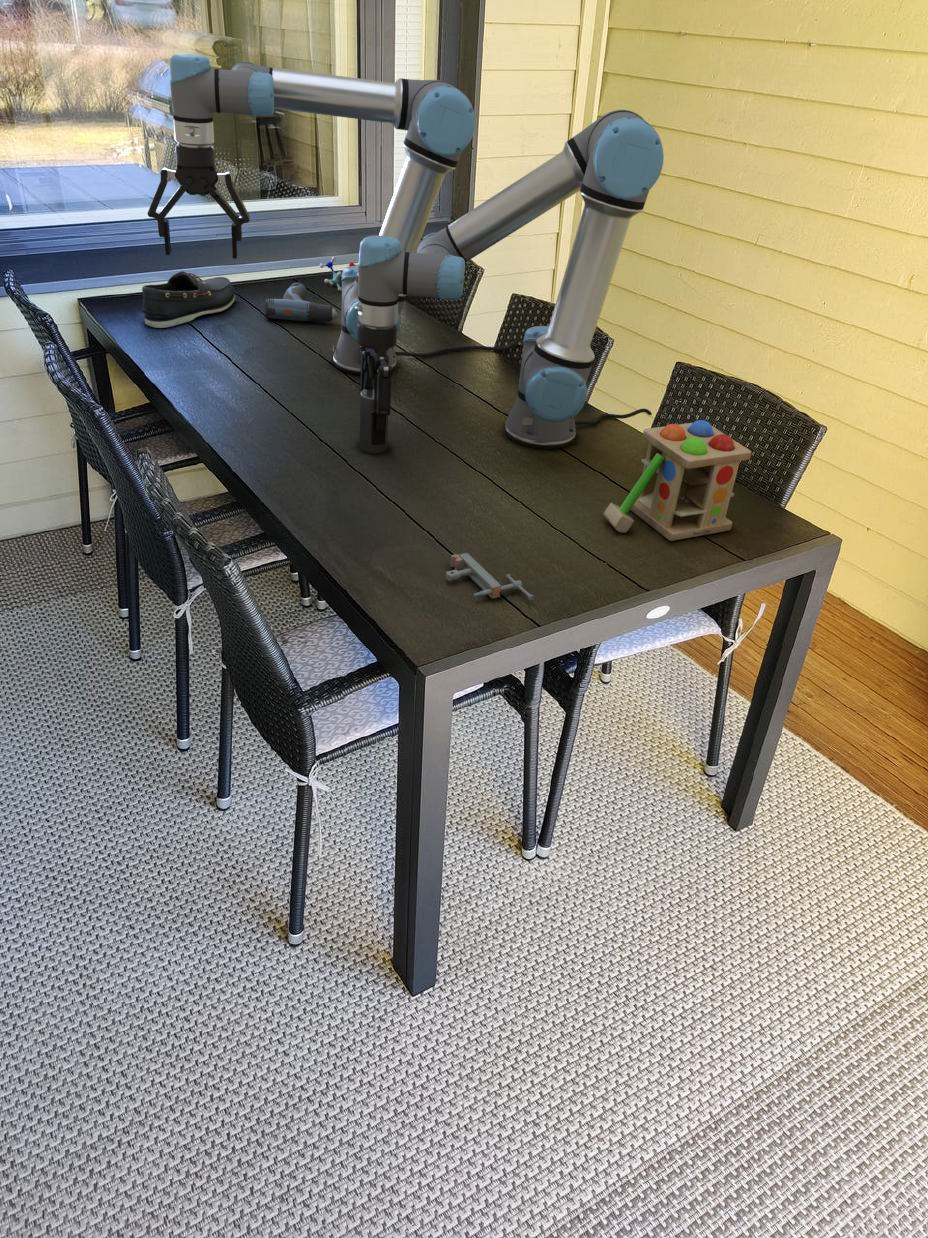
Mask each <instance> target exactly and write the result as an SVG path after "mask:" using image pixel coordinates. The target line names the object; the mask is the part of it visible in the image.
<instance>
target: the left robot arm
mask: <svg viewBox="0 0 928 1238" xmlns="http://www.w3.org/2000/svg"><path fill="white" fill-rule="evenodd" d="M210 61H211V60H210V58H209V57H208V56H206V55H201V54H195V53H194V54H193V53H176V54H173V55H172V56H171V57H170V58H169V78H170V79H169V85H170V97H171V106H172V118H173V131H174V132H173V133H174V135H173V136H174V141H175V142H176V145H175V147H174V149H175V159H176V160H175V161H176V169H175V170H173V169H169V168H168V167H166V166H165V167H163V168H162V169H161V170H160V182H159V184H158V186H157V189H156V191H155V194H154V196H153V199H152V201H151V203H150V206H149V208H148V211H147V217H148V218H153V219H155V220H156V221H157V229H158V236H159V238H163V239H164V250H165V256H170V255H171V253H172V246H171V245H172V244H171V233H170V231H171V230H170V220H169V218H166V217H167V215H168V214H169V213H170V211H171V210H172V209H173V208H174V206H175V205H176V204H177V203H178V201H179V200H180V199H181V198H182V196H183V195H184V194H185V193H187V194H188V195H189V196H196V195H199V196H201V197H205V196H207V195H209V196H210V197H211V198H212V199H213V200H214V201H215V202H216V203H217V204H218V206H219V207H220V208H221V209H222V211H224V213H225V214H226V215H227V216H228V218H229V219H230V220H231V221H232V223H231V225H230V229H231V247H232V248H231V249H232V250H231V252H232V259H237V258H238V242H242V239H243V233H242V232H243V231H242V230H243V229H242V225H245V224H248V223H249V222H250V220H251V216H250V214H249V212H248V210H247V208H246V206H245V203H244V201H243V199H242V198H241V196H240V194H239V192H238V190H237V188H236V186H235V184H234V178H233V174H232V172H231V171H226V172H221V173H218V171H217V168H216V151H215V147H214V145H213V144H214V143H215V133H214V131H215V130H214V117H213V113H217V114H221V113H222V114H232V115H233V114H234V115H235V114H236V115H246V116H254V117H260V116H261V117H262V116H263V117H270V116H273V115H274V112H275V110H283V111H292V112H298V113H299V112H300V113H308V114H314V115H315V114H316V115H324V116H331V117H337V118H338V117H339V118H347V119H354V120H356V119H357V120H363V121H370V122H377V123H378V122H379V123H387V124H391V125H392V127H394V128H395V130H401V131H406V135H405V138H404V140H403V144H402V146H403V148H404V152H405V155H406V157H405V161H404V163H403V166H402V169H401V172H400V174H399V177H398V180H397V183H396V185H395V188H394V191H393V194H392V197H391V200H390V203H389V206H388V208H387V211H386V214H385V216H384V219H383V223H382V226H381V228H380V231H379V234H378V235H380V236H387V237H393V238H396V239H397V240H399V241H400V244H401V248H402V249H401V251H405V252H411V253H416V251H417V247H418V245H419V244H420V242H421V240H422V237H423V235H424V232H425V229H426V226H427V224H428V221H429V218H430V216H431V214H432V210H433V208H434V205H435V202H436V200H437V197H438V195H439V192H440V189H441V187H442V184H443V181H444V179H445V176H446V174H447V173H449V172H452V171H454V170H456V168H457V165H458V163H459V160H460V158H461V156H462V155H461V154H462V152H463V151H464V150H465V149H466V147H468V145H469V144H470V143H471V140H472V139H473V136H474V134H475V129H476V115H475V111H474V107H473V105H472V103H471V101H470V99H469V98H468V96H467V95H466V94H465V93H464V92H463V91H461V90H460V89H458V88H457V87H456V86H455V85H453V84H451V83H450V82H448V81H445V80H442V79H412V78H411V79H409V78H402V77H401V78H400V77H399V78H398V79H396V81H394V82H389V81H382V80H373V79H365V78H360V77H359V78H358V77H351V76H343V75H335V74H328V73H319V72H312V71H304V70H298V69H288V68H282V67H281V68H280V67H275V66H274V67H271V66H266V65H258V64H255V63H253V62H251V61H240V62H238V63H237V62H236V63H235V64H234V65H232V67H231V68H230V69H219V68H216V67H212V65H211V62H210ZM173 178H175V180H176V181H177V182H178V183H179V185H180V186H179V187H178V188H177V190H176V191H175V192H174V194H173V195H172V196H171V197H170V198H169V200H168V201H167V203H166V204H165V205H164V206H163V208H162V209H161V210H160V211H158V210H157V209H158V207H159V205H160V203H161V200H162V197H163V195H164V193H165V190H166V187H167V185H168V182H171V181H172V179H173ZM219 181H220V182H221V183H222V185H223V186H226V189H227V191H228V193H229V195H230V197H231V199H232V201H233V203H234V205H235V207H236V209H237V211H238V213H239V214H238V213H237V212H236V210H234V208H233V207H232V206H231V204H229V202H228V201H227V200H226V198H225V197H224V196H223V195H222V194H221V192H220V190H219V189H218V188H217V187H216V184H217V183H218V182H219ZM341 275H342V277H341V279H340V282H341V288H342V290H341V319H340V321H341V324H340V325H341V326H340V329H341V330H340V336H339V338H338V341H337V344H336V348H335V347H334V345H332V351H333V361H332V362H333V363H332V364H333V366H334V367H335V368H337V369H338V370H339V371H342V372H344V373H347V374H352V375H356V376H360V374H361V348H360V347H361V345H359V344H358V342H357V325H358V324H359V321H358V312H357V311H355V307H356V306H358V266H350V267H349V266H346V267H344V268H343V270H342V272H341ZM407 296H408V295H403V294H399V295H398V322H397V324H395V325H396V327H397V334H398V333H399V330H400V327H401V316H400V315H401V313H402V310H403V308H404V305H405V303H406V300H407ZM516 345H517V347H521V348H522V346H520V345H518V344H515V345H514V343H513V341H511V342H510V343H508V344H507V345H505V346H488V345H487V346H486V345H457V346H447V347H442V348H438V349H436V350H435V349H434V350H432V351H428V352H410V351H395V346H394V347H392V348H389V349H388V350H387V355H388V357H389V364H388V366H392V368H393V370H392V372H393V371H395V369H396V368H397V361H398V359H397V357H398V356H399V357H414V358H428V357H432V356H436V355H438V354H441V353H442V354H443V353H445V352H451V351H454V352H455V351H465V350H480V351H491V352H501V351H507V350H509V349H511V348H512V347H514V346H516ZM334 348H335V350H334Z"/></svg>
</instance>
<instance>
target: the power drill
mask: <svg viewBox="0 0 928 1238" xmlns="http://www.w3.org/2000/svg"><path fill="white" fill-rule="evenodd" d="M307 295H308V290H307V287H306V285H304V284H303V283H301V282H293V283H292V284H291V285H290V286H289V287H288V288H287V289H286V291H285V292H284V294H283V297H282V298H266V299H265V302H264V313H265V314H264V316H265V318H267V319H274V320H275V319H276V320H283V321H294V322H295V321H297V322H332V321H333V320H334V319H336V318H337V317H338V312H337V311H336V308H334V307H333V306H332V305H331V304H324V303H317V302H313V301H307V300H305V299H306V297H307Z"/></svg>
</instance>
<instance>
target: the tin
mask: <svg viewBox="0 0 928 1238" xmlns="http://www.w3.org/2000/svg"><path fill="white" fill-rule="evenodd" d="M359 400H360V404H359V441H358V442H359V443H358V444H359V445H358V446H359V450H360V451H362V452H363V453H367V454H376V455H377V454H381V453H385V452H386V451H387V450H388V435H389V433H388V432H389V431H388V430H389V415H386V430H385V444H380V445H371V424H372V416H371V415H370V412H373V411H374V407H373V388H371V389H365V390H363V391H361V392H360V399H359Z"/></svg>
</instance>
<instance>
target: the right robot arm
mask: <svg viewBox="0 0 928 1238" xmlns="http://www.w3.org/2000/svg"><path fill="white" fill-rule="evenodd" d="M664 157H665V156H664V147H663V142H662V140H661V137H660V135H659V133H658V132H657V130H656V129H655V127H653V126H652V124H650V123H649V122H647V121H646V120H645V119H644V118H643V117H642V116H641V115H640V114H638V113H636V112H635V111H632V110H628V109H616V110H612V111H609V112H607V113H605V114H603V115H602V116H599V118H597V119H596V120H594V121H593V122H592V123H591V124H589V125H588V126H587V127H585V128H584V129H582V130H581V131H580V132H578V133H577V134H575V135H574V136H572V137H571V138H570V139H568V140H567V141H565V142H564V146H563V149H562V151H560V152H559V153H557V154H555V155H554V156H553V157H551V158H549V159H548V160H546V161H545V162H543V163H542V164H540V165H539V166H537V167H536V168H535V169H532V170H531V171H529V172H528V173H527V174H525V175H524V176H522V177H521V178H519V179H517V180H515V181H514V182H513V183H511V184H510V185H508V186H507V187H506V188H503V189H502V190H501V191H499V192H497V193H495V195H493V196H491V197H490V198H488V199H486V200H485V201H484V202H482V203H481V204H479V205H478V206H476V207H475V208H473V209H471V210H470V211H468V212H467V213H465V214H464V215H461V216H460V217H459V218H457V219H456V220H455V221H453V222H451V223H450V224H448V225H447V226H446V227H444V228H442V229H441V230H439V231H437V232H430V233H428V234H426V235H425V236H424V237H423V238H421V240H420V243H419V245H418V247H417V251H416V253H411V252H405V251H401V249H402V248H401V244H400V241H399V240H397V239H396V238H393V237H387V236H380V235H379V234H378V235H369V236H366V237H364V238H363V239H362V240H361V241H360V243H359V251H358V252H359V254H358V263H357V265H358V306H356V307H355V311H357V312H358V321H359V324H358V325H357V342H358V344H359V345H361V347H360V348H361V374H360V375H359V392H360V393H361V391H363V390H365V389H371V388H373V407H374V411H373V412H370V415H371V416H372V424H371V445H380V444H385V430H386V415H388V416H390V415H391V400H392V399H391V397H392V396H391V395H392V375H393V371H394V370H393V368H392V366H388V364H389V357H388V355H387V350H388V349H389V348H392V347H394V348H395V346H396V344H397V339H398V337H397V336H398V333H397V327H396V325H395V324H397V322H398V295H399V294H403V295H407V296H415V297H423V298H424V297H425V298H435V299H441V300H447V299H451V300H454V299H455V300H458V299H460V298H461V297H462V296H463V292H464V282H465V271H466V270H465V269H466V263H468V262H469V261H470V260H472V259H473V258H476V257H477V256H478V255H480V254H481V253H483V252H485V251H487V250H488V249H489V248H491V247H493V246H494V245H496V244H497V243H499V242H501V241H503V239H505V238H507V237H509V236H511V235H512V234H513V233H515V232H516V231H518V230H520V229H521V228H524V226H527V225H528V224H529V223H531V222H532V221H534V220H536V219H538V218H539V217H540V216H542V215H544V214H545V213H546V212H548V211H550V210H552V209H553V208H555V207H556V206H558V205H560V203H563V202H564V201H566V200H567V199H569V198H571V197H572V196H574V195H575V194H577V193H579V194H580V196H581V198H582V200H583V202H584V205H583V209H582V212H581V215H580V220H579V222H578V226H577V229H576V233H575V238H574V240H573V244H572V246H571V250H570V253H569V257H568V260H567V264H566V267H565V270H564V274H563V277H562V281H561V284H560V288H559V291H558V293H557V298H556V301H555V304H554V308H553V311H552V314H551V317H550V320H549V321H550V322H549V325H536V326H535V325H534V326H531V327H529V328H527V329H526V330H525V333H524V338H523V340H522V343H523V345H522V354H521V363H520V371H519V380H518V389H517V395H516V399H515V401H514V403H513V406H512V408H511V410H510V412H509V414H508V416H507V418H506V421H505V425H504V433H505V435H506V436H507V437H508V439H510V440H511V441H513V442H514V443H517V444H519V445H521V446H526V447H530V448H534V449H541V450H542V449H543V450H554V449H555V450H556V449H562V448H566V447H568V446H570V445H572V444H573V443H574V442H575V440H576V433H577V427H576V426H580V425H585V426H586V425H589V426H590V425H596V424H598V422H600V420H602V419H604V418H607V419H608V418H610V419H619V420H620V419H629V418H631V417H634V416H636V415H639V414H641V413H645V414H647V415H648V416H652V415H653V413H652V412H651V411H650V409H648V408H639V409H636V410H633V411H631V412H629V413H625V414H615V413H601V414H599V415H597V416H596V418H595V419H594V420H575V416H577V415H578V414H579V413H580V412H581V410H582V409H583V408H584V406H585V403H586V400H587V397H588V386H587V383H588V380H589V377H590V373H591V370H592V367H593V363H594V360H595V357H596V356H595V353H594V352H593V350H592V348H591V344H592V342H593V338H594V335H595V332H596V329H597V326H598V323H599V319H600V316H601V313H602V310H603V307H604V304H605V301H606V298H607V294H608V292H609V288H610V285H611V282H612V279H613V276H614V272H615V271H616V270H615V269H616V267H617V263H618V261H619V257H620V254H621V252H622V248H623V245H624V242H625V239H626V236H627V232H628V230H629V227H630V223H631V220H632V218H633V217H634V216H636V215H639V214H640V213H642V212H643V210H644V208H645V205H646V202H647V199H648V195H649V192H650V190H651V189H652V188H653V187H654V186H655V184H657V182H658V179H659V178H660V176H661V173H662V170H663V166H664ZM392 370H393V371H392Z"/></svg>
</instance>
